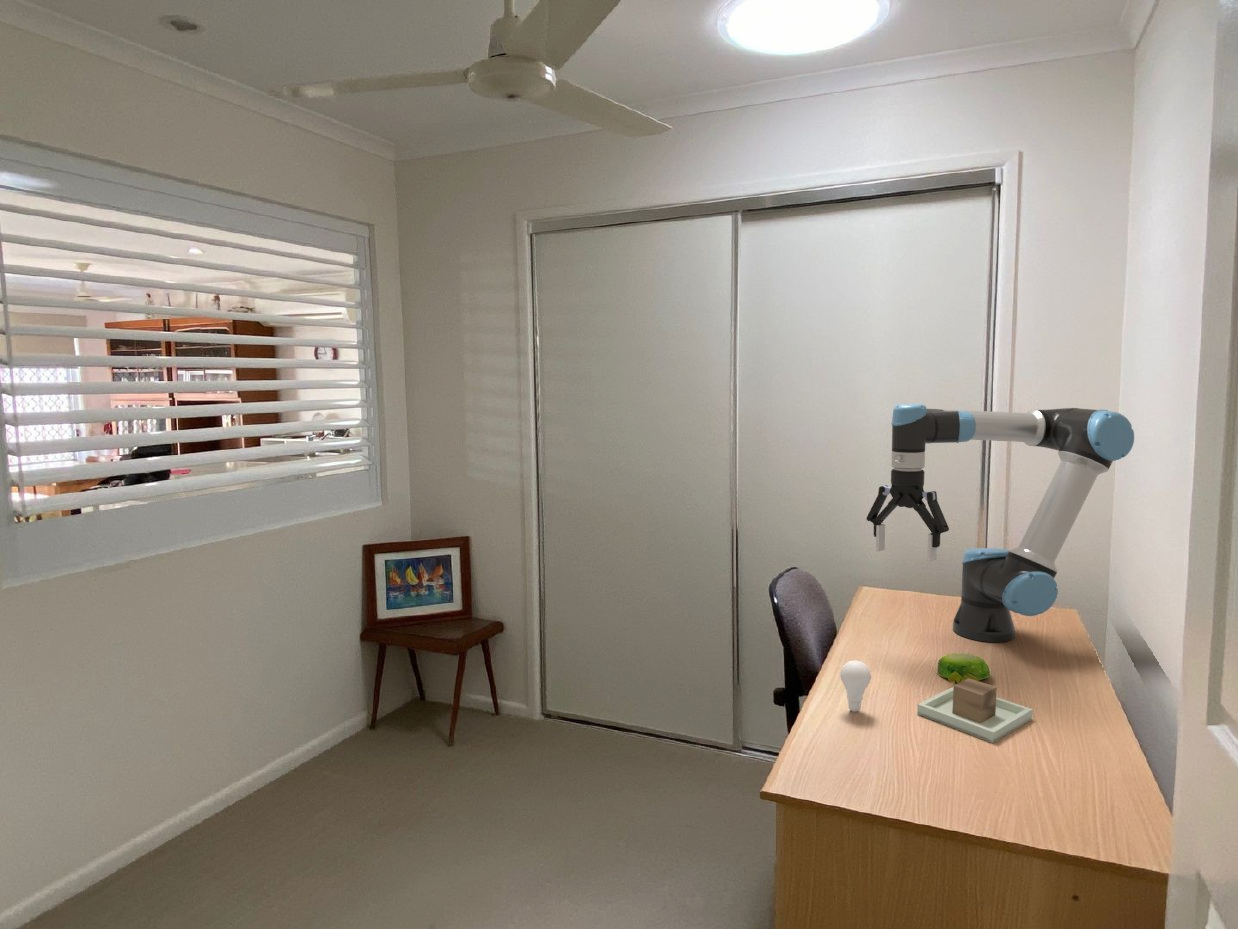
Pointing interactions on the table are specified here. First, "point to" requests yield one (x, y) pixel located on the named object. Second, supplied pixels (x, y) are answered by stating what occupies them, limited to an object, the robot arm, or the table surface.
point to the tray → (990, 730)
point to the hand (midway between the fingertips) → (905, 555)
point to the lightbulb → (855, 682)
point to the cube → (974, 700)
